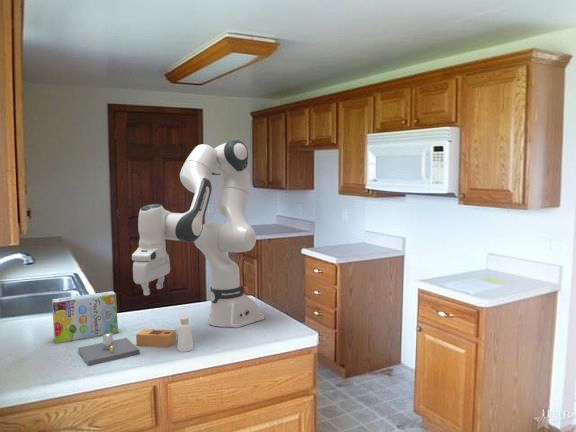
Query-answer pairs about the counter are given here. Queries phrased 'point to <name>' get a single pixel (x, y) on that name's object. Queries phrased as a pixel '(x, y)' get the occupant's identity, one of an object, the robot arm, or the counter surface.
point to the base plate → (107, 351)
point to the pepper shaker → (185, 335)
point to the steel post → (107, 340)
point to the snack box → (84, 316)
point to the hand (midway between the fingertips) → (153, 291)
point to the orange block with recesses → (156, 338)
